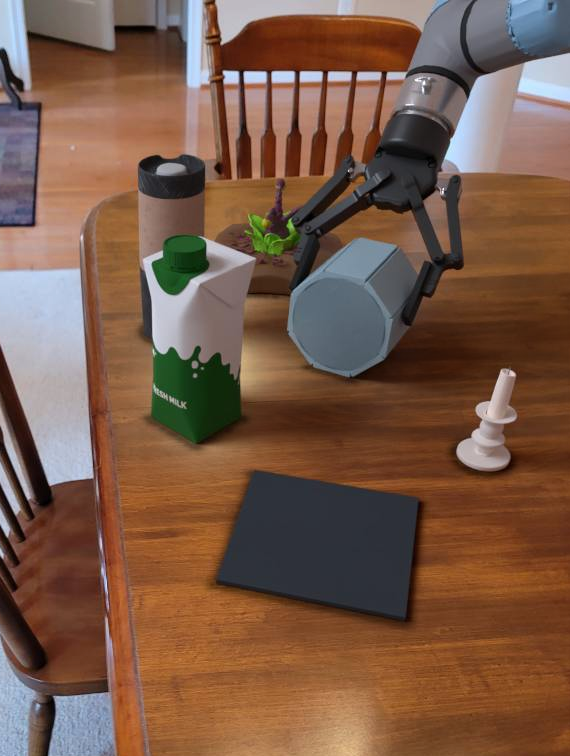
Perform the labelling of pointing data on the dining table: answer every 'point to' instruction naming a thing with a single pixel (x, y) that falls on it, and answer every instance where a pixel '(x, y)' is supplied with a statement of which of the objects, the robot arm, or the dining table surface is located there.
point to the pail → (352, 307)
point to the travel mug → (167, 210)
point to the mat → (323, 544)
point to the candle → (491, 429)
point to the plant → (274, 247)
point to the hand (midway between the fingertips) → (348, 306)
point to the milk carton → (197, 333)
